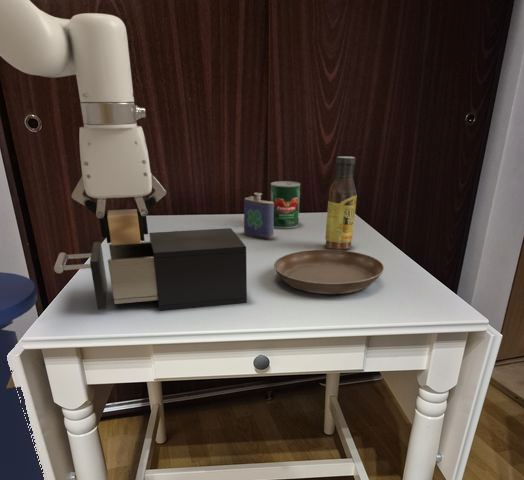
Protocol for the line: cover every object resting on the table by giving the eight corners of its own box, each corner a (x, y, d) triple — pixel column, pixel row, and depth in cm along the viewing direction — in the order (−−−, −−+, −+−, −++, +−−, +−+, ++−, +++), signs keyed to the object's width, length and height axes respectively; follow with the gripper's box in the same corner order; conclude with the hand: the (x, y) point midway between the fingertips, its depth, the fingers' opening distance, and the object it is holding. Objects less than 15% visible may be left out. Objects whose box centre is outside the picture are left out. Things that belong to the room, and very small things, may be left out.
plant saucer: (261, 293, 87) (261, 275, 85) (286, 260, 104) (287, 245, 103) (378, 305, 82) (380, 287, 80) (384, 268, 100) (386, 253, 98)
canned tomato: (280, 230, 128) (281, 186, 123) (264, 224, 134) (264, 182, 129) (304, 226, 132) (306, 184, 127) (287, 220, 138) (289, 180, 132)
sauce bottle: (345, 252, 110) (353, 159, 100) (320, 248, 113) (325, 157, 103) (356, 246, 115) (364, 156, 105) (331, 242, 118) (338, 154, 108)
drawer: (60, 313, 76) (50, 264, 72) (67, 287, 86) (58, 244, 82) (182, 302, 80) (179, 255, 77) (176, 279, 90) (172, 237, 87)
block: (111, 245, 77) (107, 216, 75) (111, 238, 81) (107, 210, 79) (141, 243, 78) (137, 214, 76) (140, 236, 82) (136, 208, 80)
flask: (275, 238, 120) (276, 194, 115) (267, 240, 118) (268, 195, 113) (248, 232, 126) (247, 189, 121) (240, 234, 124) (239, 191, 119)
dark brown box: (159, 310, 80) (153, 252, 75) (154, 284, 90) (149, 232, 86) (246, 302, 83) (246, 246, 78) (232, 278, 94) (230, 227, 89)
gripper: (165, 115, 76) (175, 231, 84) (51, 116, 72) (73, 237, 81) (170, 117, 69) (180, 242, 78) (44, 118, 66) (69, 249, 74)
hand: (125, 238), depth 79 cm, fingers closed on block, 4 cm apart
